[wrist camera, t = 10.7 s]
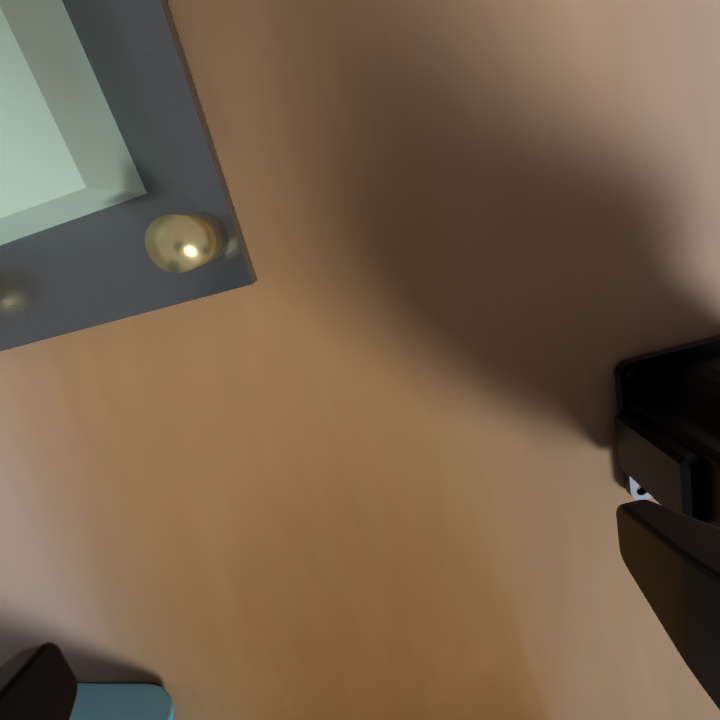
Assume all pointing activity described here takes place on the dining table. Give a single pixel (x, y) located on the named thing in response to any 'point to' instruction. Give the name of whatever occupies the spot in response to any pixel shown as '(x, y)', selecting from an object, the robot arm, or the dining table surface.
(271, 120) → the dining table surface
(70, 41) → the pale green block
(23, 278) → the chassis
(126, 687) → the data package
